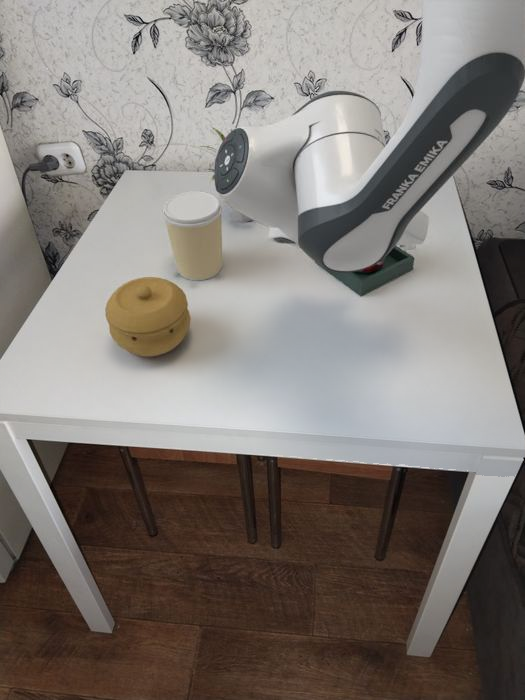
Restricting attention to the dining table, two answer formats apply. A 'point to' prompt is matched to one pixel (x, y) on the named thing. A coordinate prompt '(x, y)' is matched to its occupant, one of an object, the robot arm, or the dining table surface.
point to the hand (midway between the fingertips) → (382, 245)
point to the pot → (148, 316)
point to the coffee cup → (195, 233)
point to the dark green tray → (377, 272)
